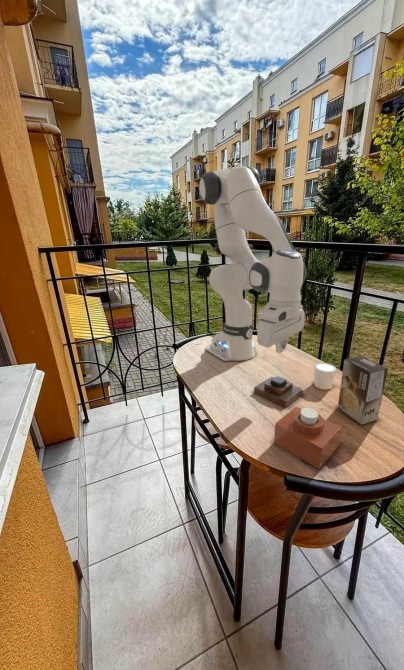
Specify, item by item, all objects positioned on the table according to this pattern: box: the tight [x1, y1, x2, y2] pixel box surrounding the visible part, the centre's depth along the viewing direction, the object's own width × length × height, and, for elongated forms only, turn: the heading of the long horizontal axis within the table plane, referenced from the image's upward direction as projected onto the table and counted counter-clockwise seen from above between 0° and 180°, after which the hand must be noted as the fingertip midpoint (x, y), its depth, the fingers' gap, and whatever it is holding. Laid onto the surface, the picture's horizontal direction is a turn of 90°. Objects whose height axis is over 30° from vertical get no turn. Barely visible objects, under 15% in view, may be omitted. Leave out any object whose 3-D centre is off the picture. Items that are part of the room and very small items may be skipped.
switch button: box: [271, 375, 288, 388], centre depth 91 cm, size 4×4×2 cm
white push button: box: [300, 407, 319, 425], centre depth 68 cm, size 4×4×2 cm
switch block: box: [253, 376, 304, 408], centre depth 92 cm, size 12×10×4 cm
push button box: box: [273, 406, 342, 470], centre depth 69 cm, size 12×10×8 cm
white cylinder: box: [313, 362, 337, 391], centre depth 95 cm, size 7×7×7 cm
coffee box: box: [337, 355, 389, 425], centre depth 79 cm, size 9×6×16 cm
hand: (280, 351), depth 87 cm, fingers closed
